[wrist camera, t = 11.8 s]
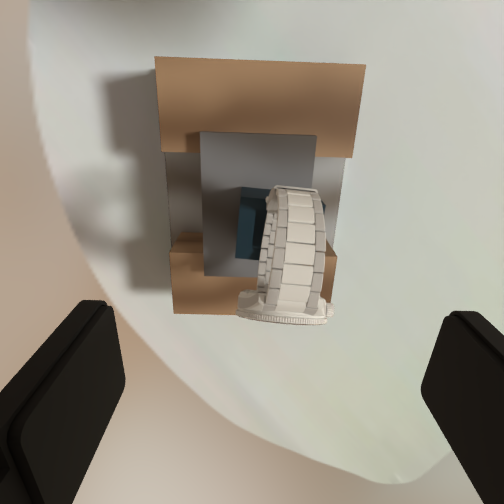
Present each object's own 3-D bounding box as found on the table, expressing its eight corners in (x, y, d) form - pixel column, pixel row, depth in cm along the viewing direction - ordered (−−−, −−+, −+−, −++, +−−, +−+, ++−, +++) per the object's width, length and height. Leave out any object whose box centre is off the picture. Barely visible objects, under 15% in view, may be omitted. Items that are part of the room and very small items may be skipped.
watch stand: (161, 68, 27) (132, 52, 20) (353, 75, 27) (388, 62, 20) (176, 281, 34) (159, 321, 28) (324, 285, 35) (342, 325, 28)
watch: (234, 264, 26) (225, 361, 16) (244, 161, 23) (240, 199, 12) (303, 270, 26) (338, 370, 16) (322, 169, 23) (380, 213, 13)
